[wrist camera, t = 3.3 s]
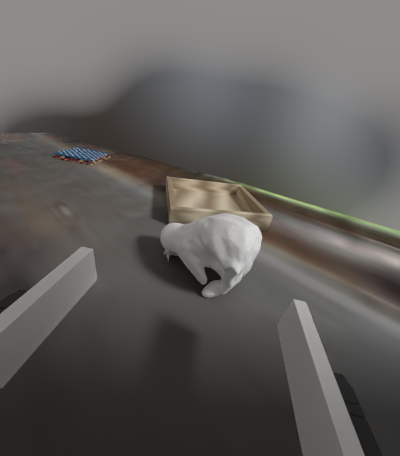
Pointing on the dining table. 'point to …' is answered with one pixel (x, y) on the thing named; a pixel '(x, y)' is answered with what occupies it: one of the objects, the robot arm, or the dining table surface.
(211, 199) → the birch tray
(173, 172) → the dining table surface
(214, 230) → the white rounded lump
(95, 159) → the woven mat
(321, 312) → the dining table surface
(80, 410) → the dining table surface
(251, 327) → the dining table surface
